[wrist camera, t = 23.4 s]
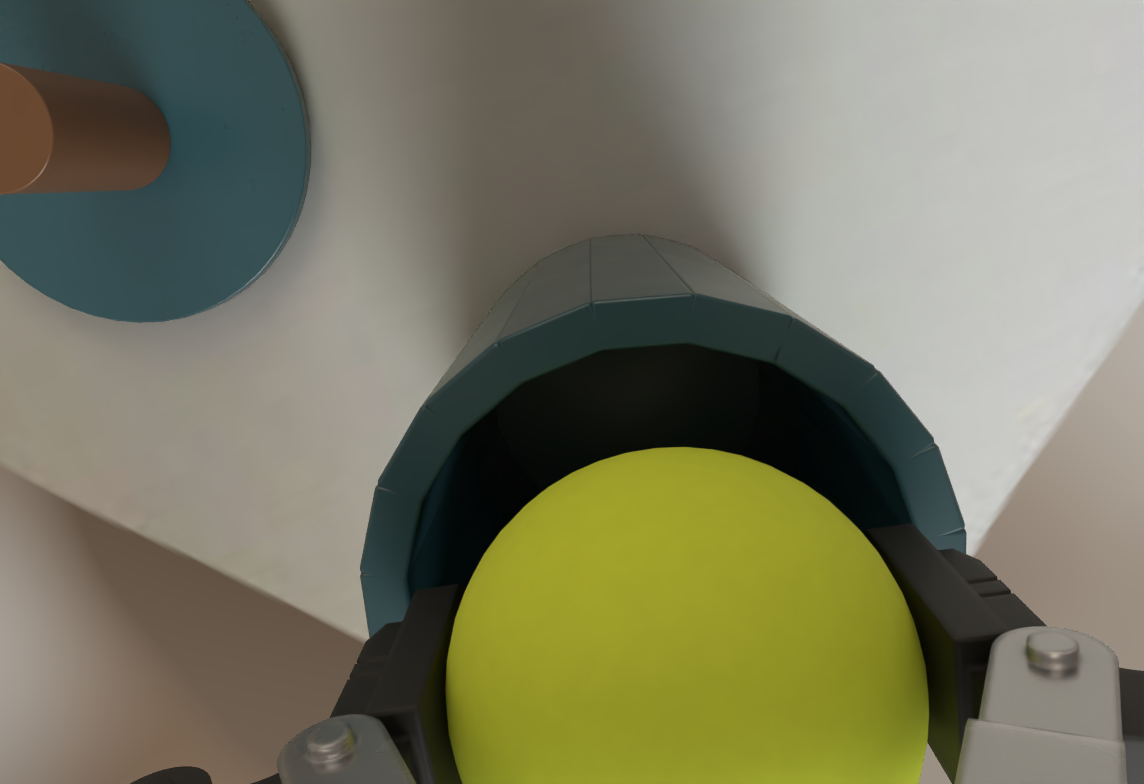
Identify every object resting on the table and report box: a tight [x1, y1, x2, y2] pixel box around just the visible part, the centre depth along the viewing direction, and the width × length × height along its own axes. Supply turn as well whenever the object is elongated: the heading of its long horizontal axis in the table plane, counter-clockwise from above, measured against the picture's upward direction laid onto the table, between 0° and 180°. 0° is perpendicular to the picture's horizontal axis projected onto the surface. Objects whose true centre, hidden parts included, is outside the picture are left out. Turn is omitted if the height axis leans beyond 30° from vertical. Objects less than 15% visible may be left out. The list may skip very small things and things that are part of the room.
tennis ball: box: [445, 447, 929, 784], centre depth 12 cm, size 6×6×6 cm
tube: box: [360, 234, 966, 638], centre depth 22 cm, size 10×10×15 cm
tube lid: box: [0, 0, 311, 323], centre depth 24 cm, size 11×11×7 cm
